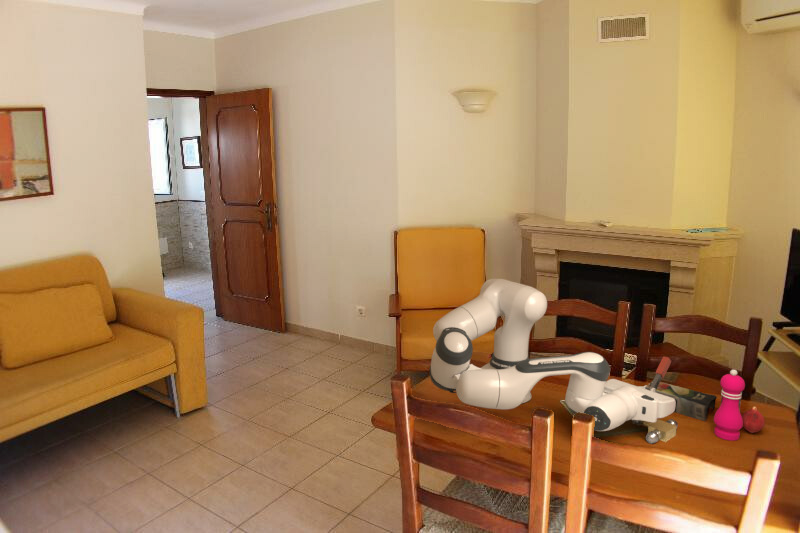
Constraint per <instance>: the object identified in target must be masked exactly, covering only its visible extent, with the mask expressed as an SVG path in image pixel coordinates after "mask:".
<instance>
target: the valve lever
mask: <svg viewBox="0 0 800 533" xmlns="http://www.w3.org/2000/svg"><path fill="white" fill-rule="evenodd" d="M671 364H672V360H671V359H670V357H668V356H662V359H661V360H660V362H659V365H658V367H657V368H656V371H655V372H654V373H655V376H654V378H653V379H652V381H653V382H652V381H651V382H652V384H651V386H650V387H653V388H655V391H656V389H657V387H658V385H659V383H660V382H662V379H664V378H665V376H666V373H667V371H668V369H669V368H670V365H671ZM640 422H641V420H631V423H632V424H634V425H637V426H639V427H640V426H641V425H642V424H640Z"/></svg>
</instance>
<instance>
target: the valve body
mask: <svg viewBox="0 0 800 533" xmlns="http://www.w3.org/2000/svg"><path fill="white" fill-rule="evenodd" d="M640 424H641V425H642V426H644V427H647V433H646V435H645V441H646V442H647V443H648V444H655V443H657V442H658V441H662V442H664V443H667V442H668V441H670V440H671V439H672V438H674V437H676V436H677V428H678V424H679V423H678V422H677V421H676V420H675V419H672V418H669V419H668V420H666V421H664V420H661V419H657V421H656V422H654V423H652V422H647V421H641V422H640Z"/></svg>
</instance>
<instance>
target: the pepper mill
mask: <svg viewBox="0 0 800 533" xmlns="http://www.w3.org/2000/svg"><path fill="white" fill-rule="evenodd" d="M719 381H720V386H721V388H722V389H721V390H720V391H721V392H720V394H721V397H722V396H723V399H722V403H721V402H720V406H719V408H717V410H716V412H715V413H714V416H713V423H714V424H715V426H714V435H715V436H716V437H718V438H719V439H722V440H725V441H733V442H734V441H738V440H739V439H740V435H741V432H740V430H741V429H742V428H744V426H743V419H742V414H741V410H740V411H739V399H741V400H742V394H743V391H744V390H745V387H746V383H745V380H744V379H743V378H742V377H741V376H740V375H738V371H737V369H731V370H730V371H729V373H727V374H724V375H723V376H721V379H720V380H719ZM741 391H742V393H741Z"/></svg>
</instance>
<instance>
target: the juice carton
mask: <svg viewBox="0 0 800 533" xmlns="http://www.w3.org/2000/svg"><path fill="white" fill-rule="evenodd" d="M652 382H653V380H652V381H651V382H649V383H648V385H647V386H649V387H650V386H651V384H652ZM655 392H656V393H659V394H662V395H665V396H668V397H671V398H674V399H675V401H676V406H675V411H674V412H673V413H676V414H679V415H682V416H685V417H690V418H693V419H696V420H700V421H702V422H707V419H708V415H709V414H708V413H709V409H712V410H711V412H713V411H715V408H716V401H717V398H718V397H717V396H716V394H715V395H713V394H709V393H705V392H701V391H697V390H694V389H690V388H685V387H681V386H679V385H674V384H669V383H667V382H662V381H660V383H659V385H658V387H657V389H656V391H655Z"/></svg>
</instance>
